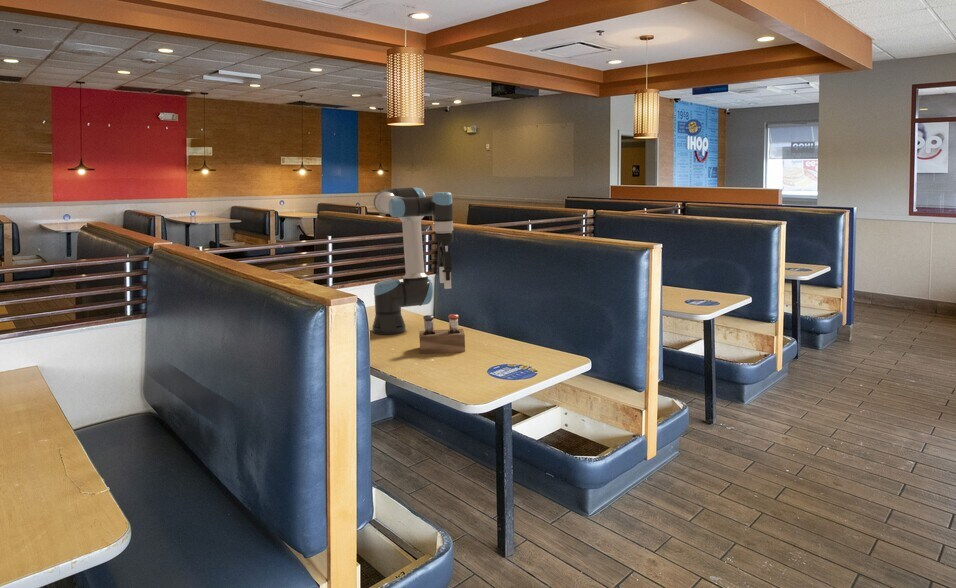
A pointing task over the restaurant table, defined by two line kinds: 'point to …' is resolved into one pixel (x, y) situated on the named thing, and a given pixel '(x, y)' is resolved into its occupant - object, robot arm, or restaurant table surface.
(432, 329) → the plug grey
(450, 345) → the block
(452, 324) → the plug red
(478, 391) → the restaurant table surface
